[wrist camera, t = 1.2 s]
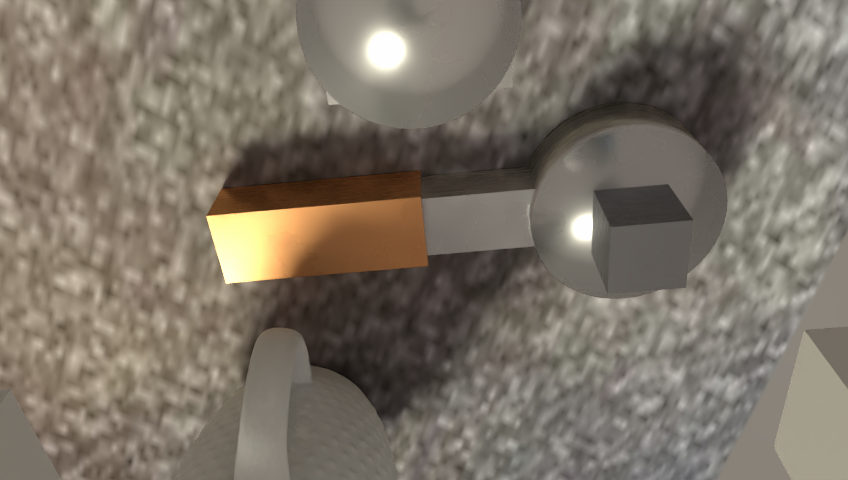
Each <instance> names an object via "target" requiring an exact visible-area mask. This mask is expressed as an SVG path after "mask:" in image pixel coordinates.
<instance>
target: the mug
mask: <svg viewBox="0 0 848 480" xmlns="http://www.w3.org/2000/svg"><path fill="white" fill-rule="evenodd" d="M174 480H398V474H397V470H396V467H395V464H394V453H393V452H392V450H391V448H390V445H389V438H388V435H387V434H386V432H385V430H384V426H383V424H382V420H381V419H380V418H379V416H378V415H377V412H376V410H375V408H374V407H373V406H372V405H371V403H370V402H369V400H368V399H367V397H366V396H365V395H364V394H363V392H362V391H361V390H360V389H359V388H358V387H357V386H356V385H355V384H354V383H352V382H351V381H350V380H348V379H347V378H345V377H344V376H342V375H340V374H338V373H336V372H334V371H331V370H329V369H325V368H321V367H317V366H311V365H310V363H309V355H308V350H307V347H306V344H305V341H304V339H303V337H302V335H301V334H300V333H299V332H297V331H295V330H293V329H288V328H271V329H267V330H265V331H263V332H262V333H261V334H260V335H259V336H258V338H257V340H256V343H255V345H254V348H253V351H252V355H251V359H250V363H249V369H248V373H247V378H246V384H245V386H244V387H242V388H240V389H238V390H237V391H236V392H235V394H234V395H233V396H232V397H230V398H229V399H228V400H227V401H225V403H224V404H223V406H222V407H221V408H220V409H219V410H218V411H217V412H216V413H215V414H214V415H213V417H212V419H211V421H210V422H209V423H208V424H207V425H205V427H204V428H203V429H202V431H201V433H200V435H199V437H198V438H197V439H196V440H195V442H194V443H193V444H192V446H191V447H190V450H189V453H188V455H187V456H186V458H185V459H184V460H183V461H182V462H181V465H180V468H179V471H178V473H177V475H176V477H175V478H174Z"/></svg>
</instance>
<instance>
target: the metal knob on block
mask: <svg viewBox="0 0 848 480" xmlns="http://www.w3.org/2000/svg"><path fill="white" fill-rule="evenodd" d="M521 20H522V8H521V0H297V2H296V22H297V30H298V36H299V40H300V44H301V48H302V51H303V53H304V56H305V58H306V61H307V63H308V65H309V67H310V69H311V70H312V72H313V74H314V76H315V77H316V79H317V80H318V81H319V83H320V84H321V86H322V87H323V88H324V89H325V90H326V93H327V99H328V105H334V104H341V105H342V106H343V107H344V108H346V109H347V110H349V111H350V112H352V113H354V114H355V115H357V116H359V117H361V118H363V119H365V120H368V121H370V122H373V123H376V124H379V125H383V126H388V127H392V128H402V129H421V128H427V127H433V126H437V125H440V124H444V123H447V122H450V121H452V120H454V119H457V118H459V117H461V116H463V115H464V114H466V113H468V112H469V111H471V110H473V109H474V108H475V107H476V106H478V105H479V104H480V103H482V102H483V101H484V100H485V99H486V98H487V97H488V96H489V95H490V94H491V93H492V92H493V91H494V89H502V88H512V87H513V68H512V60H513V58H514V56H515V52H516V49H517V46H518V42H519V37H520V31H521Z"/></svg>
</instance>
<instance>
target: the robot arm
mask: <svg viewBox="0 0 848 480" xmlns="http://www.w3.org/2000/svg"><path fill="white" fill-rule="evenodd" d="M774 449H775V450H776V452H777V454H778V456H779V458H780V459H781V461H782V463H783V465H784V467H785V468H786V470H787V472H788V474H789V475H790V477H791V479H792V480H848V327H838V328H824V329H811V330H804V333H803V337H802V341H801V345H800V348H799V352H798V356H797V360H796V364H795V367H794V371H793V375H792V379H791V383H790V387H789V391H788V395H787V398H786V402H785V406H784V410H783V414H782V418H781V421H780V425H779V429H778V433H777V437H776V441H775V445H774ZM0 480H61V479H60V477H59V476H58V474H57V472H56V470H55V468H54V467H53V465H52V463H51V461H50V459H49V458H48V456H47V454H46V452H45V451H44V449H43V447H42V445H41V443H40V442H39V440H38V438H37V436H36V434H35V433H34V431H33V429H32V427H31V425H30V424H29V422H28V420H27V418H26V417H25V415H24V413H23V411H22V409H21V408H20V406H19V404H18V402H17V400H16V399H15V397H14V395H13V393H12V392H11V390H10V389H9V390H0Z"/></svg>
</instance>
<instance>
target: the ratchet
mask: <svg viewBox="0 0 848 480" xmlns="http://www.w3.org/2000/svg"><path fill="white" fill-rule="evenodd" d="M726 212H727V190H726V185H725V182H724V178H723V176H722V173H721V171H720V169H719V167H718V166H717V164H716V163H715V161H714V160H713V158H712V157H711V156H710V155H709V154H708V153H707V152H706V150H705V149H704V148H703V147H702V146H701V145H700V144H699V143H698V141H697V140H696V139H695V138H694V137H693V136H692V135H691V134H690V132H689V131H688V130H687V129H686V128H685V127H684V126H683V125H682V124H681V123H680V122H679V121H678V120H676V119H675V118H674V117H673V116H671V115H669V114H668V113H666V112H664V111H662V110H660V109H657V108H655V107H652V106H648V105H644V104H639V103H628V102H626V103H611V104H605V105H600V106H597V107H593V108H590V109H587V110H585V111H583V112H580V113H578V114H576V115H574V116H573V117H571V118H569V119H567V120H566V121H564V122H563V123H562V124H560V125H559V126H558V127H556V128H555V129H554V130H553V131H552V132H551V133H550V134H549V135H548V136H547V137H546V138H545V139H544V140H543V142H542V143H541V144H540V145H539V147H538V148H537V150H536V151H535V153H534V155H533V157H532V159H531V161H530V163H529V165H528V167H521V168H510V169H499V170H487V171H476V172H465V173H454V174H443V175H432V176H421V171H420V170H419V171H408V172H397V173H386V174H375V175H364V176H353V177H342V178H331V179H320V180H309V181H298V182H287V183H276V184H265V185H254V186H243V187H232V188H222V189H221V191H220V193H219V194H218V196H217V198H216V200H215V202H214V203H213V205H212V207H211V209H210V211H209V212H208V214H207V220H208V223H209V227H210V230H211V233H212V237H213V240H214V244H215V247H216V250H217V254H218V257H219V261H220V264H221V267H222V271H223V274H224V278H225V281H226V283H234V282H246V281H257V280H269V279H281V278H293V277H305V276H317V275H328V274H340V273H352V272H364V271H376V270H388V269H399V268H411V267H423V266H428V255H439V254H450V253H462V252H474V251H485V250H497V249H509V248H521V247H532V246H535V249H536V251H537V253H538V256H539V258H540V260H541V261H542V263H543V264H544V266H545V267H546V269H547V270H548V271H549V272H550V273H551V274H552V275H553V276H554V277H555V278H556V279H557V280H559V281H560V282H561V283H563V284H564V285H566V286H567V287H569V288H571V289H573V290H575V291H578V292H580V293H583V294H586V295H590V296H595V297H600V298H611V299H614V298H629V297H636V296H641V295H645V294H649V293H651V292H654V291H657V290H663V289H675V288H686V281H687V274H688V273H689V272H690V271H691V270H693V269H694V268H695V267H696V266H697V265H698V264H699V263H700V262H701V261H702V260H703V259H704V258H705V256H706V255H707V254H708V253H709V251H710V250H711V248H712V247H713V246H714V244H715V242H716V240H717V238H718V237H719V235H720V233H721V230H722V227H723V224H724V221H725V217H726Z"/></svg>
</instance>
